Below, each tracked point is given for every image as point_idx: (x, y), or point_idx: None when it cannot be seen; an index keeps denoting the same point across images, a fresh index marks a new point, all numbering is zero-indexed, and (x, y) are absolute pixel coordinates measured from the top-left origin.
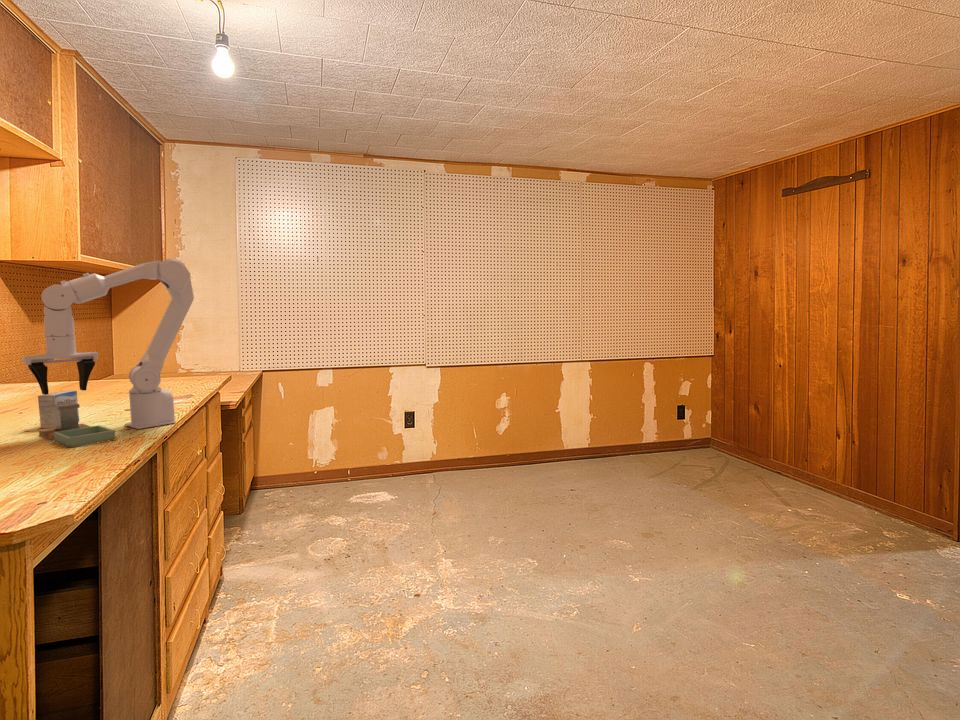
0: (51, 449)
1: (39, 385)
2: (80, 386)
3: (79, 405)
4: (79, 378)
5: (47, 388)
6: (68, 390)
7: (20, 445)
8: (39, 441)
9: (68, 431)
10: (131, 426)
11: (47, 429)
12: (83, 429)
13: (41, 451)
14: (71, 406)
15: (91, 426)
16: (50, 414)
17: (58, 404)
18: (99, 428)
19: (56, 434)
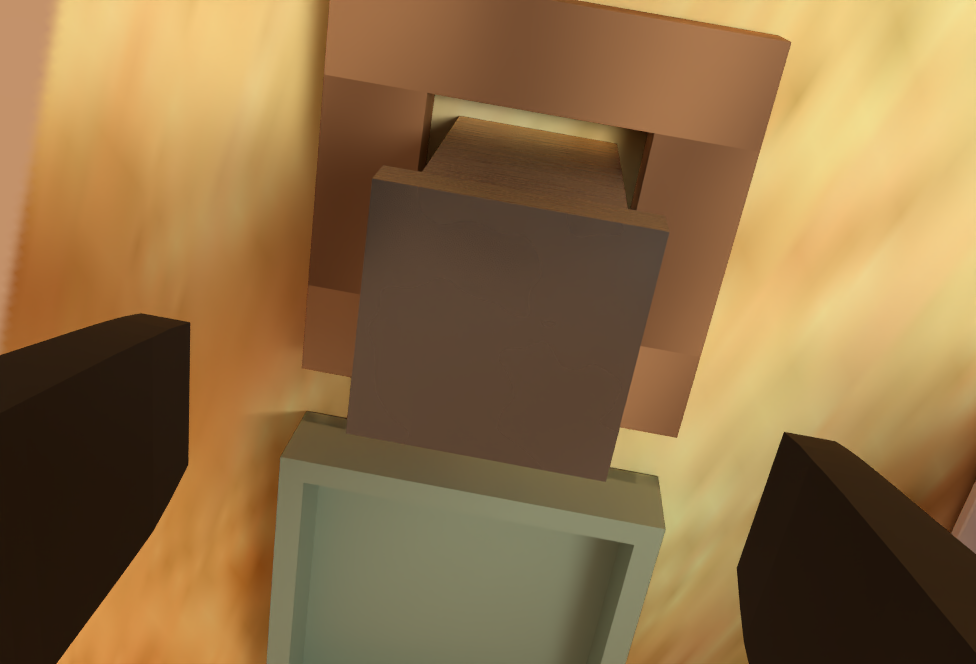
0: (202, 611)
1: (7, 355)
2: (787, 507)
3: (605, 470)
4: (882, 568)
5: (121, 554)
6: None
7: (92, 293)
8: (239, 284)
9: (391, 492)
10: (967, 508)
11: (397, 32)
12: (514, 513)
13: (141, 606)
14: (508, 451)
15: (593, 520)
16: None
17: (447, 227)
18: (622, 572)
19: (278, 518)
